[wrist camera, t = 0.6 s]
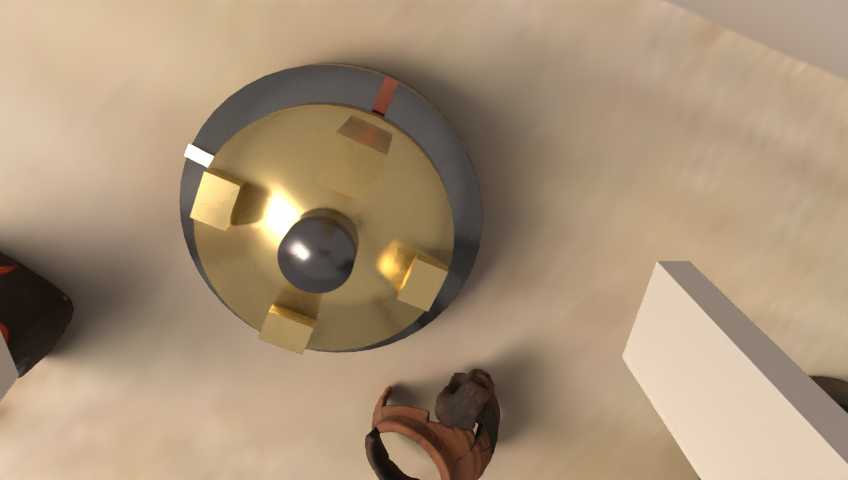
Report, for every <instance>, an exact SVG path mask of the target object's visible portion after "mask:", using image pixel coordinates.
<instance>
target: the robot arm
mask: <svg viewBox="0 0 848 480" xmlns="http://www.w3.org/2000/svg"><path fill="white" fill-rule="evenodd" d="M622 358H623V360H624V361H625V363H626V364H627V366H628V368H629V369H630V371H631V372H632V374H633V375H634V377H635V378H636V380H637V382H638V383H639V385H640V386H641V388H642V389H643V391H644V392H645V394H646V395H647V397H648V399H649V400H650V402H651V403H652V405H653V406H654V408H655V409H656V411H657V412H658V414H659V416H660V417H661V419H662V420H663V422H664V423H665V425H666V426H667V428H668V429H669V431H670V433H671V434H672V436H673V437H674V439H675V440H676V442H677V443H678V445H679V446H680V448H681V450H682V451H683V453H684V454H685V456H686V457H687V459H688V460H689V462H690V464H691V465H692V467H693V468H694V470H695V471H696V473H697V474H698V476H699V479H700V480H848V383H845V382H843V381H839V380H835V379H830V378H822V377H809V376H808V375H807V374H806V373H805V372H804V371H803V370H802V369H801V368H800V367H799V366H798V365H797V364H796V363H795V362H793V361H792V360H791V359H790V358H789V357H788V356H787V355H786V354H785V353H784V352H783V351H782V350H781V349H780V348H779V347H778V346H777V345H776V344H775V343H774V342H773V341H772V340H771V339H770V338H769V337H768V336H767V335H765V334H764V333H763V332H762V331H761V330H760V329H759V328H758V327H757V326H756V325H755V324H754V323H753V322H752V321H751V320H750V319H749V318H748V317H747V316H746V315H745V314H744V313H743V312H742V311H741V310H740V309H739V308H737V307H736V306H735V305H734V304H733V303H732V302H731V301H730V300H729V299H728V298H727V297H726V296H725V295H724V294H723V293H722V292H721V291H720V290H719V289H718V288H717V287H716V286H715V285H714V284H713V283H712V282H711V281H709V280H708V279H707V278H706V277H705V276H704V275H703V274H702V273H701V272H700V271H699V270H698V269H697V268H696V267H695V266H694V265H693V264H692V263H691V262H690V261H657V263H656V265H655V268H654V271H653V274H652V276H651V279H650V282H649V285H648V287H647V290H646V293H645V296H644V298H643V301H642V304H641V307H640V309H639V312H638V315H637V317H636V320H635V323H634V326H633V328H632V331H631V334H630V337H629V339H628V342H627V345H626V348H625V350H624V353H623V356H622ZM18 376H19V374H18V371H17V369H16V367H15V364H14V362H13V359H12V357H11V355H10V352H9V350H8V347H7V345H6V343H5V340H4V338H3V335H2V333H1V331H0V401H1V400H2V398H3V397H4V396H5V394H6V393H7V392H8V390H9V389H10V387H11V386H12V385H13V383H14V382H15V381H16V379H17V378H18Z"/></svg>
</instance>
